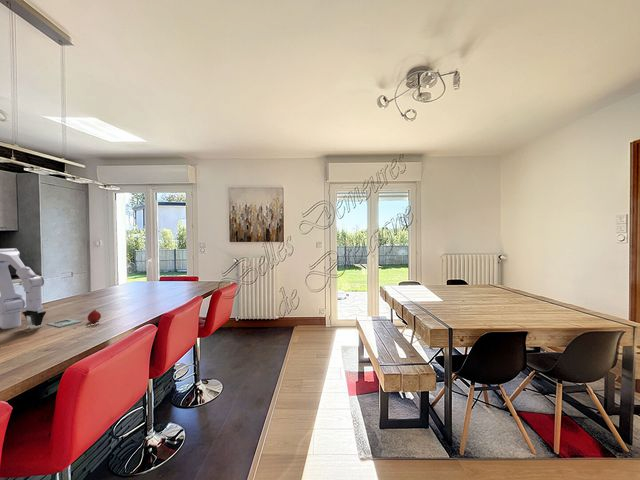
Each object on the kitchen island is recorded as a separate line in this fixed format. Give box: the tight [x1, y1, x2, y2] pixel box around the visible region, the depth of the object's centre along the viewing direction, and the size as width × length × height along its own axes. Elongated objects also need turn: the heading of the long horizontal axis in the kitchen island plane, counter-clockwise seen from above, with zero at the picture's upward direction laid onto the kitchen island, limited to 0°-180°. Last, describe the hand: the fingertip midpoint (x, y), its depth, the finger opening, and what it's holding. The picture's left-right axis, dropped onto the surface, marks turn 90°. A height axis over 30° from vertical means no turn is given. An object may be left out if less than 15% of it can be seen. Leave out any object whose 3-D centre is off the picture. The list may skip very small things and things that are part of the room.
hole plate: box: [45, 318, 83, 328], centre depth 152 cm, size 14×10×2 cm
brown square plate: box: [19, 324, 51, 333], centre depth 144 cm, size 9×9×1 cm
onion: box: [87, 308, 102, 324], centre depth 154 cm, size 6×6×8 cm
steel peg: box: [26, 315, 43, 331], centre depth 144 cm, size 4×4×7 cm
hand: (34, 324), depth 144 cm, fingers open, 7 cm apart
